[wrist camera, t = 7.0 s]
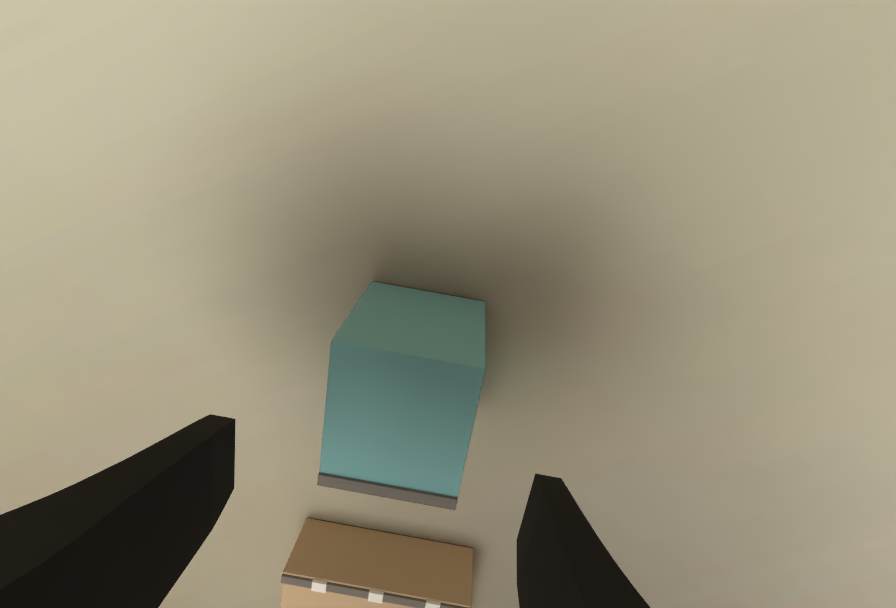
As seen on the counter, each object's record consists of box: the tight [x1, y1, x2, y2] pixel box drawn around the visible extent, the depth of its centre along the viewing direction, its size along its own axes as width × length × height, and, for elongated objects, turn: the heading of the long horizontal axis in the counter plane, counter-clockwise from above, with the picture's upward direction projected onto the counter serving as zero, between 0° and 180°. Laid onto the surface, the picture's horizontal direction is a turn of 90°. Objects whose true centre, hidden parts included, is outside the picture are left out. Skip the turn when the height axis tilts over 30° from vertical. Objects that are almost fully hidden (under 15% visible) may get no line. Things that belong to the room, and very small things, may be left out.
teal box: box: [317, 282, 486, 510], centre depth 17 cm, size 4×5×6 cm
